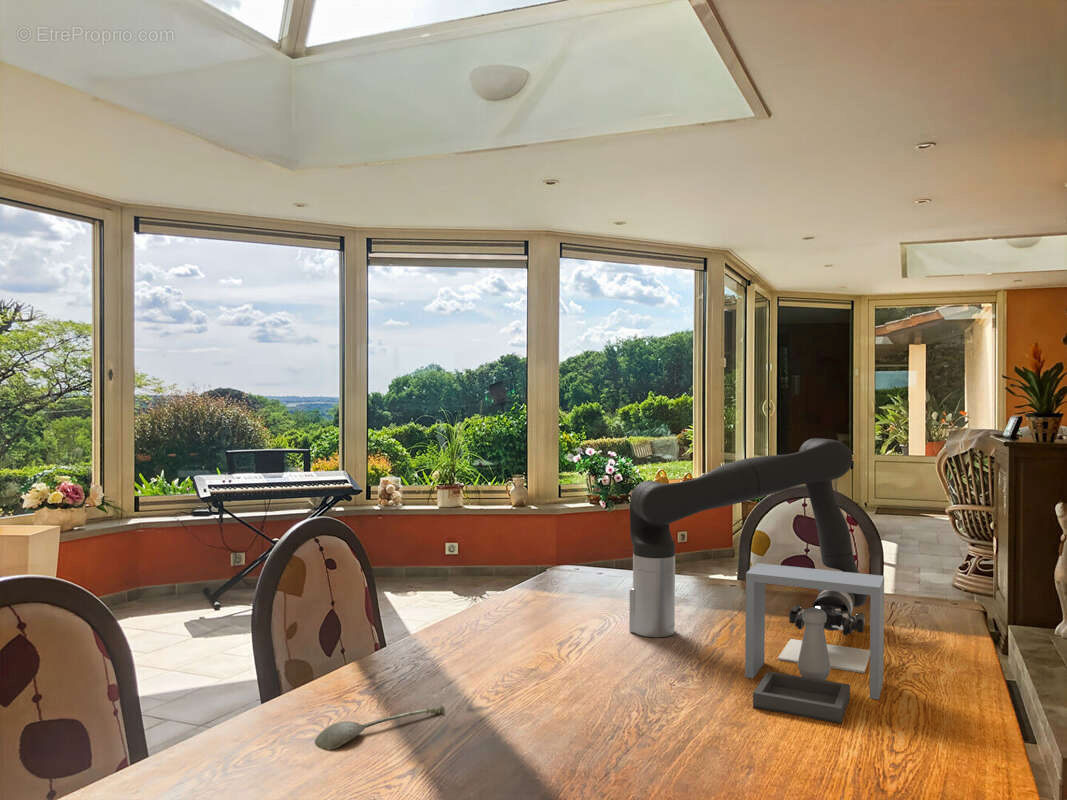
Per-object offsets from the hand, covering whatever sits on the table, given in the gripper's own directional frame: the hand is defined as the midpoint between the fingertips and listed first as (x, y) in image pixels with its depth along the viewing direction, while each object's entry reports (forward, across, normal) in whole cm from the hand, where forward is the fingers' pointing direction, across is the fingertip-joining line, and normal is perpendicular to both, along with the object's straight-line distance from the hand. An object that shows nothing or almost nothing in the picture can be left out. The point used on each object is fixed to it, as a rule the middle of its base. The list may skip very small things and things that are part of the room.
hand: (822, 627), depth 158 cm
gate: (+10, 0, +7) cm, 12 cm away
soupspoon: (+65, -57, +8) cm, 87 cm away
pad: (-5, 0, +7) cm, 8 cm away
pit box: (+23, 0, +7) cm, 24 cm away
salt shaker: (+10, 0, +7) cm, 13 cm away
